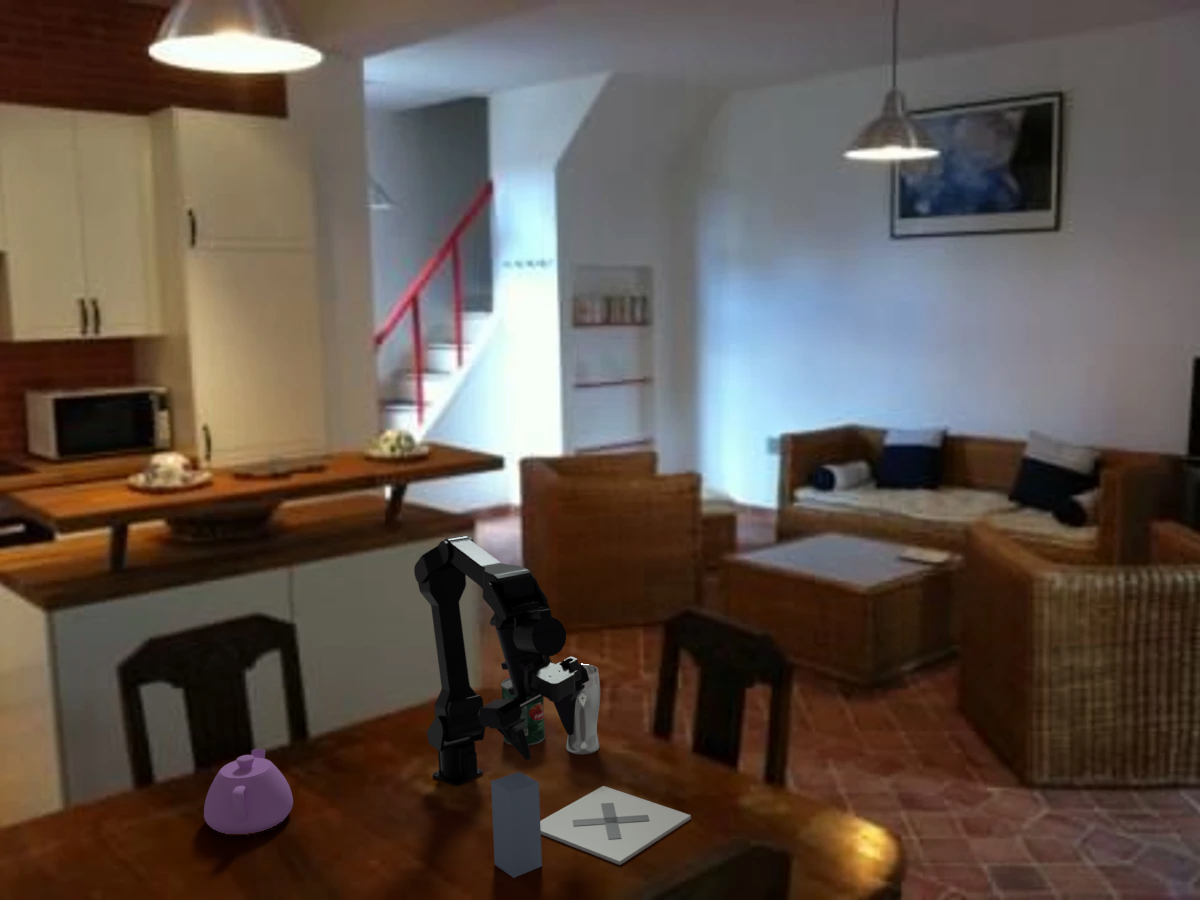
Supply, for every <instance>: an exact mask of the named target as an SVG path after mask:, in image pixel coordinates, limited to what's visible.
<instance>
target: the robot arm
mask: <svg viewBox="0 0 1200 900" xmlns="http://www.w3.org/2000/svg"><path fill="white" fill-rule="evenodd" d="M443 539H444V538H443ZM413 572H414V577H415V581H416V582H417V585H418V589H419V592H420V594H421V595H422V596H423V597H424V599H425V600H426V601H427V603H428V604H429V606H430V608H431V616H432V624H433V630H434V638H435V647H436V653H437V663H438V669H439V676H440V684H441V689H440V692H439V694H438V696H437V699H436V701H435V703H434V718H433V720H432V722H431V724H429V725H430V726H429V727H428V729H427V730H426V735H427V740H428V744H429V745H430V746H432V747H433V749H436V750H437V757H438V758H437V759H438V771H435V772H433V773H432V774H431V776H432V777H433V778H435V779H436V780H437V779H438V780H439V781H443V782H445V783H448V784H450V785H454V786H460V785H462V784H464V783H466V782H468V781H470V780H473V779H474V778H476V777H478V776H480V775H482V774H484V771H483V769H480V768H478V759H477V758H478V755H477V752H476V742H479V741H484V739H485V732H486V728H489V729H495V730H497V731H498V732H499V733H500V734H501V735H502V736H503V737H504V736H505V737H506V738H507V739H508V741H509V742H510V743H511V744H512V745H511V746H513V747H514V748H515V750H516V751H517V753H519V755H520V756H521V757H522V758H523V759H524V760H525V761H530V760H532V756H531V751H530V747H529V746H528V743H527V740H526V736H525V733H524V729H523V727H524V723H525V719H521V718H520V717H521V714H522V710H521V708H523V707H525V706H527V705H528V704H530V703H532V702H534V701H536V700H538V699H539V698H541V697H543V698H546V699H548V701H550V702H551V703H553V704H554V706H555V710H556V712H557V714H558V718H559V720H560V722H561V725H562V727H563V728H564V730H565V732H566V734H567V736H568V735H572V734H574V717H575V704H576V698H577V696H578V695H579V693H580V692H581V690H582V689H584V687H585V685H582V684H584V683H586V682H587V681H589V676H588V672H587V669H586V668H585V667H584V666H583V665H581V664H582V663H579V661H578V658H576V657H574V656H572V655H571V656H569V657H567V658H565V659H563V660H562V662H561V661H559V662H557V663H553V661H552V660H551V657H553V656H556V655H558V654H559V653H560V652H561V651H562V650H563V648H564V647H565V645H566V640H567V631H566V629H565V626H564V625H563V624H562V622H561V621H560V620H559V619H557V618H555V617H553V616H552V610H551V608H550V605H549V603H548V601H549V599H548V598H547V596H546V594H545V592H544V591H543V590H542V588H541V587H540V585H539V583H538V581H537V580H536V577H535V576H534V575H533V573H532V572H531V571H530V570H529V569H527V568H525V567H523V566H520V565H517V564H516V565H515V564H507V563H502V562H501V561H499V560H498V559H497V558H495V557H494V556H493V555H492V554H490V553H489V552H487V551H486V550H485V549H483V548H481V547H480V546H479V545H478V544H476V543H475V542H474V539H473V538H472V537H471V536H467V535H459V536H454V537H446V538H445V539H444V540H441V541H440V542H439V543H438V545H436V546H435V547H433V548H431V549H430V550H428V551H427V552H425V553H423V554H422V555H421V556H420V557H419V559H418V560H417V562H416V563H415V565H414V571H413ZM467 577H468V578H469V579H470V580H472V581H473V582H474V583H476V585H478V586H479V587H480V588H481V589H482V599H483V600H484V601H485V602H486V604H487V605H488V606H489V607H490V609H491V610H492V611H493V615H492V617H491V618H490V621H489V624H490V626H493V627H494V626H495V631H496V634H497V638H498V640H499V644H500V647H501V651H502V654H503V658H504V661H502V662H501V663H500V665H501V668H502V670H503V671H504V670H506V671H508V675H509V678H510V679H511V682H512V685H513V686H512V687H510V688H508V690H509V693H510V695H516V697H515V698H513V699H502V698H496V699H494V700H493V701H490V702H489V703H486V704H484V699H483V697H482V696H481V694H478V693H476V692H475V689H473V687H471V685H470V678H469V670H468V668H469V667H468V662H467V661H468V660H467V655H466V653H467V652H466V645H465V640H464V639H465V638H464V631H463V623H462V616H461V606H460V600H461V598H462V596H463V594H464V592H465V589H466V587H467ZM530 696H531V697H530ZM526 697H529V698H527V699H526Z"/></svg>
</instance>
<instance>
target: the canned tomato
mask: <svg viewBox="0 0 1200 900" xmlns="http://www.w3.org/2000/svg"><path fill="white" fill-rule="evenodd" d="M500 686H501V699H513V698H515V697H516V695H510V693H509V690H508V688H510V687H512V686H513V685H512V682H511V679H510V677H508V678H505V679H504V680H503V681H502V682H501V684H500ZM530 697H531V696H530ZM527 698H529V697H526V699H527ZM544 698H545V697H544V696H543V697H541V698H539V699H538V700H536V701H534V702H532V703H530V704H528V705H527V706H525V707H523V708H521V710H522V714H521V717H520V718H521V719H525V723H524V727H523V729H524V733H525V736H526V740H527V743H528V746H534V745H537V744H540V743H542V742H543V741H544V740H545V738H546V732H545V730H546V729H545V703H544V700H545V699H544ZM503 741H504V743H506V744H507V745H509V746H513V745H512V744H511V743H510V742H509V741H508V739H507V738H506V737H505V736H504V735H503Z"/></svg>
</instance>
